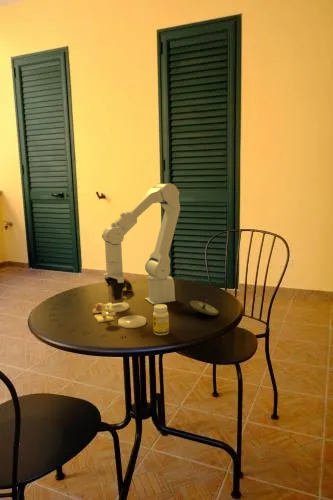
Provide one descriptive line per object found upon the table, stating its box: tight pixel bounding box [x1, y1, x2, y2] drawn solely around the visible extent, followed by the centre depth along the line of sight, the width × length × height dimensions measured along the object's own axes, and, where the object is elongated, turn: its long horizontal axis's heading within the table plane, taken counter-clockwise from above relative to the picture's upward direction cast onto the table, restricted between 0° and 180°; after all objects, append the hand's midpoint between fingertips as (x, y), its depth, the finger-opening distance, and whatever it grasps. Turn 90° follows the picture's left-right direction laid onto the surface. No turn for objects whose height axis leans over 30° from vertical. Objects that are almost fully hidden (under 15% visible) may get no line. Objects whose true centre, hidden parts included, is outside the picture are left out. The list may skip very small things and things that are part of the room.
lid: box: [189, 299, 220, 317], centre depth 139 cm, size 11×10×5 cm
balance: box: [92, 302, 117, 323], centre depth 136 cm, size 5×17×6 cm, turn 24°
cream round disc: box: [117, 314, 147, 329], centre depth 132 cm, size 9×9×1 cm
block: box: [107, 284, 124, 304], centre depth 146 cm, size 4×4×6 cm
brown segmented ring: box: [123, 277, 134, 294], centre depth 167 cm, size 12×10×8 cm
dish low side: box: [105, 301, 130, 313], centre depth 147 cm, size 9×9×1 cm
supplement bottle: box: [152, 303, 170, 336], centre depth 122 cm, size 5×5×8 cm
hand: (115, 297), depth 147 cm, fingers closed on block, 4 cm apart
